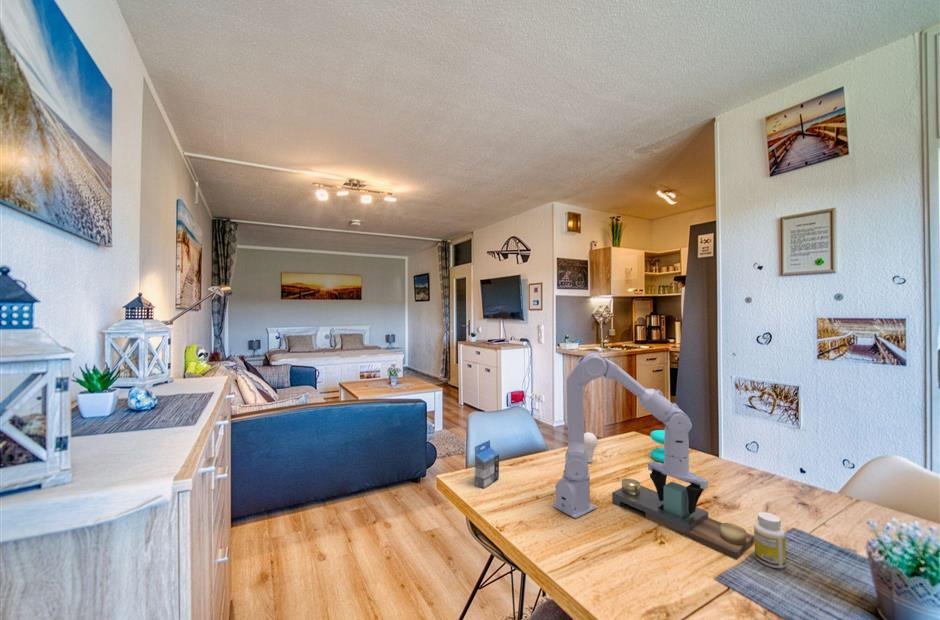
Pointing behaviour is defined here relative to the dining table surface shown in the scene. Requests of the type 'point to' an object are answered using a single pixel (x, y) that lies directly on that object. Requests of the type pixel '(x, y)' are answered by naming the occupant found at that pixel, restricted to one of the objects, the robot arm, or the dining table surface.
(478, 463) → the label tape cartridge
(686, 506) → the block
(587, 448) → the lightbulb
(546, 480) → the dining table surface
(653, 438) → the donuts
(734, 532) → the walnut link
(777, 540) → the supplement bottle
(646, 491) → the metal link
